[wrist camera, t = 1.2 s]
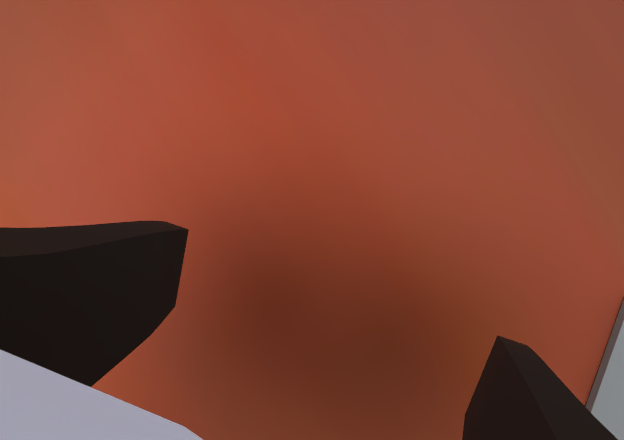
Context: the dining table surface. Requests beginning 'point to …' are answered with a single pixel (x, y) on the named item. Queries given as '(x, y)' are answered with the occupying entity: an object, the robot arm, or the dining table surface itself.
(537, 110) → the dining table surface
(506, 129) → the dining table surface
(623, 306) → the mat
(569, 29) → the dining table surface
